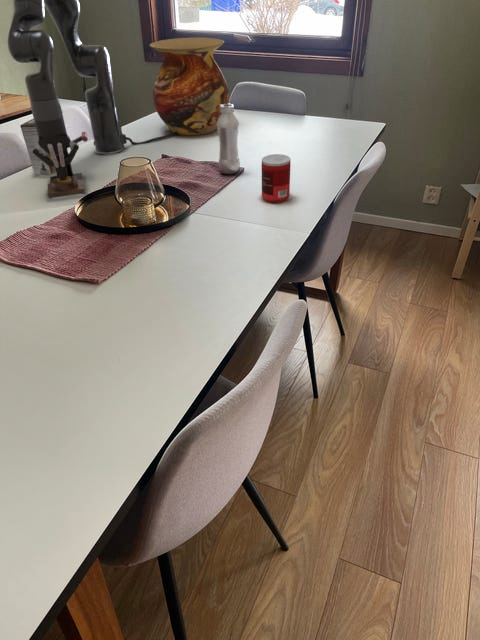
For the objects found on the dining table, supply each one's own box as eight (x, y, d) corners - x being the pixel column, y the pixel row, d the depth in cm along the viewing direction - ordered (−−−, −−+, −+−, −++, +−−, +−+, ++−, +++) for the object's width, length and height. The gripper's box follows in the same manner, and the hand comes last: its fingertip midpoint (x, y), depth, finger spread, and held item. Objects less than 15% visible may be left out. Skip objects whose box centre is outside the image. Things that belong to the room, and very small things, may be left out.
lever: (88, 136, 150) (84, 129, 149) (89, 141, 146) (85, 134, 145) (57, 153, 150) (52, 146, 149) (57, 158, 146) (52, 151, 145)
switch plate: (84, 186, 151) (81, 173, 148) (85, 196, 144) (82, 182, 142) (49, 190, 148) (46, 177, 146) (49, 200, 142) (45, 187, 140)
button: (72, 181, 147) (70, 175, 146) (72, 186, 144) (71, 180, 143) (58, 183, 146) (56, 177, 145) (58, 188, 143) (56, 182, 142)
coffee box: (48, 167, 165) (35, 116, 156) (66, 168, 164) (54, 117, 155) (34, 177, 158) (19, 124, 149) (52, 178, 157) (38, 125, 148)
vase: (189, 115, 214) (183, 35, 196) (244, 124, 200) (242, 39, 182) (142, 132, 195) (129, 45, 177) (198, 144, 181) (191, 51, 163)
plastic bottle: (218, 169, 159) (214, 103, 147) (239, 168, 159) (237, 102, 147) (219, 177, 154) (215, 108, 142) (241, 175, 154) (239, 107, 142)
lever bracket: (82, 176, 158) (74, 138, 151) (83, 185, 151) (74, 145, 144) (51, 180, 156) (41, 141, 149) (50, 189, 149) (40, 149, 142)
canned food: (292, 193, 141) (293, 155, 135) (285, 205, 135) (286, 164, 129) (266, 191, 143) (266, 152, 137) (258, 202, 137) (257, 162, 131)
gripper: (21, 122, 129) (39, 186, 139) (73, 116, 132) (87, 180, 142) (22, 115, 135) (39, 177, 145) (73, 110, 138) (86, 171, 148)
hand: (63, 178), depth 144 cm, fingers closed
